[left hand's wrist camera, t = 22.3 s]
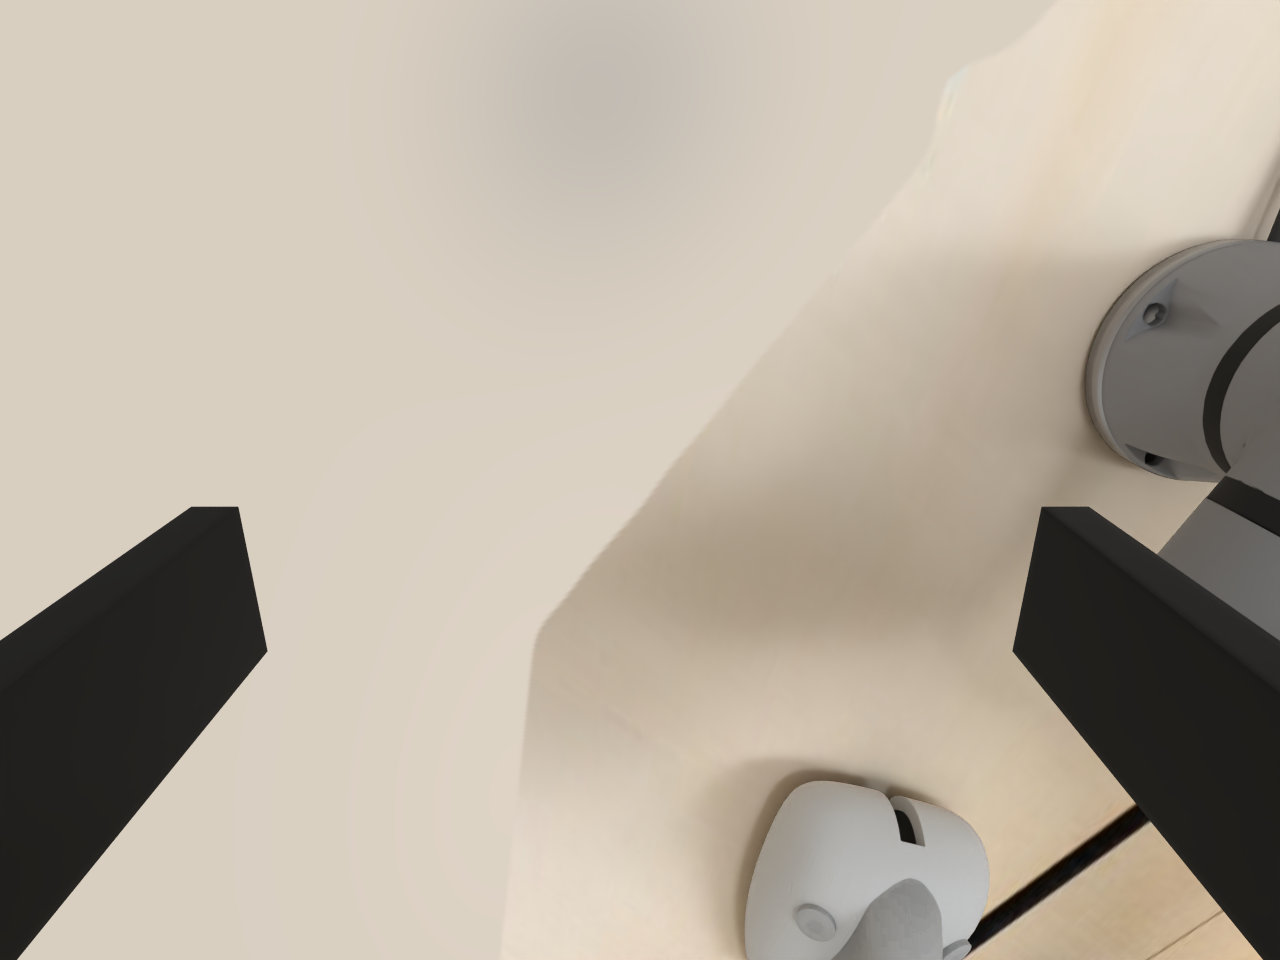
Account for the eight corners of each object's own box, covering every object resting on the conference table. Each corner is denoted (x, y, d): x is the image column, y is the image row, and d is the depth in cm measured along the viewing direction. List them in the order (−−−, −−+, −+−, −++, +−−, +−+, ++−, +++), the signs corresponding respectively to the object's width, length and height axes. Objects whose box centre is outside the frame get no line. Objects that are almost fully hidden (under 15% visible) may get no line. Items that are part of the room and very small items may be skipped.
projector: (653, 825, 63) (657, 1000, 50) (905, 707, 59) (986, 862, 45) (777, 984, 70) (810, 1177, 56) (1011, 888, 66) (1109, 1071, 52)
